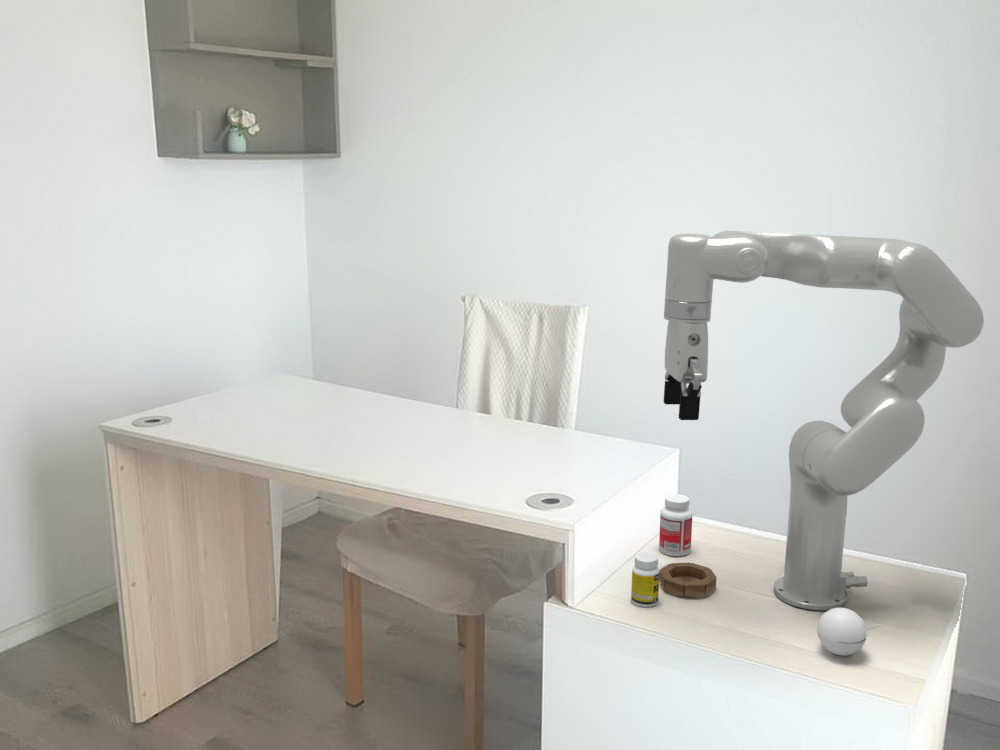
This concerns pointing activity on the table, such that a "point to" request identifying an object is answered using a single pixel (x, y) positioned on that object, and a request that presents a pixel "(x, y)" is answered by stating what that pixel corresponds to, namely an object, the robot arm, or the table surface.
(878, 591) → the table surface
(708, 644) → the table surface
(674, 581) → the holder
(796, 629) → the table surface
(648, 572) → the supplement bottle
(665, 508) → the pill bottle
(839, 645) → the white sphere
